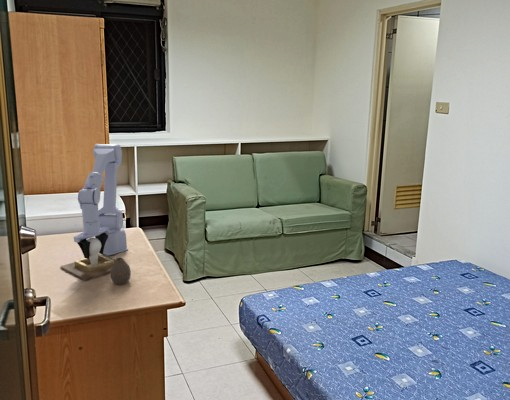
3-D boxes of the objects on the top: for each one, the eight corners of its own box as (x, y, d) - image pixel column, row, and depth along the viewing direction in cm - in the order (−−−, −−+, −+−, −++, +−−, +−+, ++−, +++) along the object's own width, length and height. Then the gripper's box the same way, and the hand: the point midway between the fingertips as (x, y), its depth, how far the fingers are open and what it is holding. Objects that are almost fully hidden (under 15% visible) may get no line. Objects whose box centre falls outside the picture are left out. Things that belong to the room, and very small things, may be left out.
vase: (109, 280, 175) (107, 256, 173) (129, 277, 177) (128, 254, 175) (112, 287, 169) (110, 263, 166) (132, 284, 171) (131, 260, 169)
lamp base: (103, 255, 198) (103, 253, 198) (129, 267, 187) (128, 265, 187) (60, 268, 185) (60, 266, 185) (85, 281, 174) (85, 279, 174)
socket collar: (99, 258, 193) (99, 253, 193) (114, 265, 186) (114, 260, 186) (74, 266, 186) (74, 261, 185) (89, 273, 179) (88, 268, 178)
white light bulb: (99, 269, 183) (96, 240, 180) (83, 268, 183) (80, 240, 180) (105, 263, 188) (103, 235, 186) (90, 262, 189) (87, 235, 186)
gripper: (99, 214, 190) (102, 248, 193) (67, 223, 178) (70, 259, 181) (112, 217, 186) (114, 251, 189) (79, 226, 174) (82, 262, 177)
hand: (93, 255), depth 185 cm, fingers closed on white light bulb, 6 cm apart
